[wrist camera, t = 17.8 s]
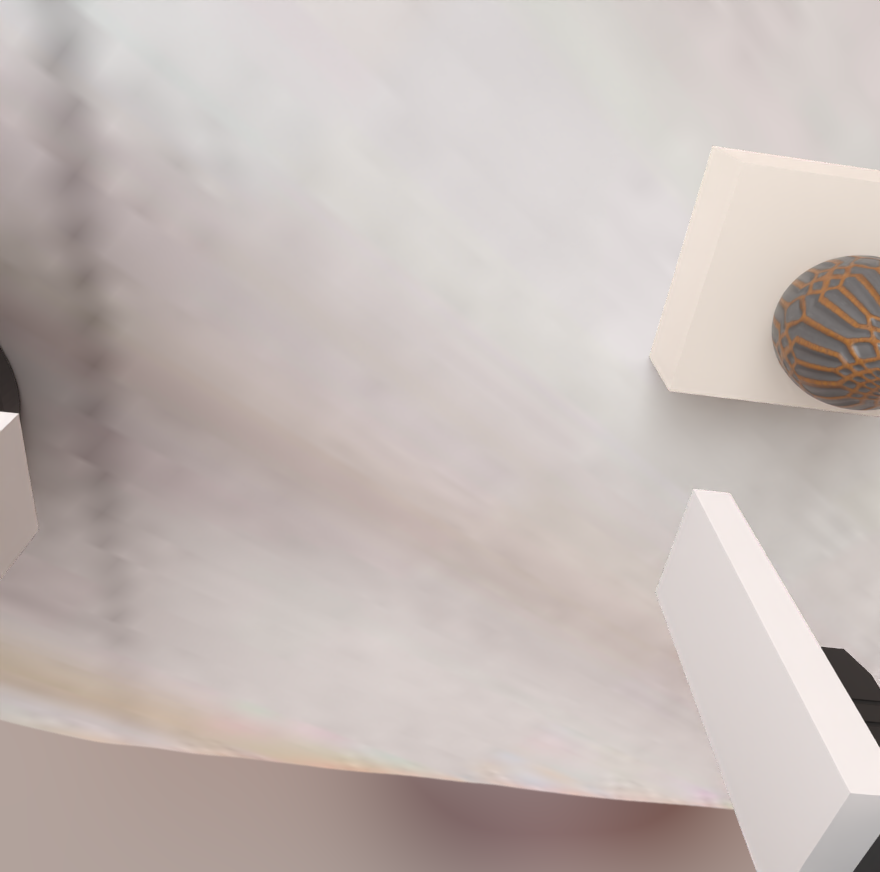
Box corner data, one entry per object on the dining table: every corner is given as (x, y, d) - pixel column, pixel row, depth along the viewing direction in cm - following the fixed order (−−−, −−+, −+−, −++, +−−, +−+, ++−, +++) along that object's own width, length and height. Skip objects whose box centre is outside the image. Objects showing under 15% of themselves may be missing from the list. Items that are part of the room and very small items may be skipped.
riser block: (647, 353, 45) (669, 391, 41) (710, 144, 39) (743, 162, 35) (837, 377, 46) (878, 417, 41) (927, 176, 40) (986, 198, 35)
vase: (914, 324, 38) (1031, 391, 30) (788, 396, 40) (868, 477, 32) (860, 212, 36) (972, 255, 28) (729, 295, 38) (800, 356, 30)
